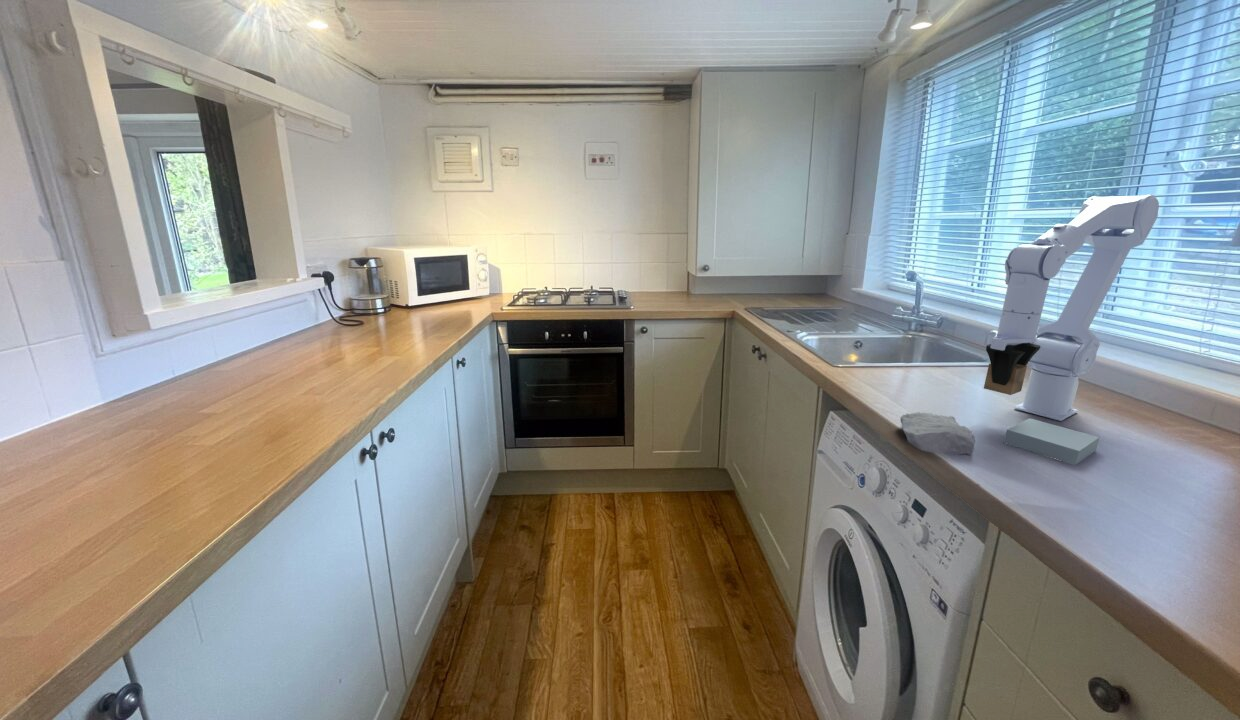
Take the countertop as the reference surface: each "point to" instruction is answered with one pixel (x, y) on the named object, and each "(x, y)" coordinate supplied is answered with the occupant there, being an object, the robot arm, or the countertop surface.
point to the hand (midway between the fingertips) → (1005, 381)
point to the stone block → (937, 433)
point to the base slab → (1052, 440)
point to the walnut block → (1013, 383)
